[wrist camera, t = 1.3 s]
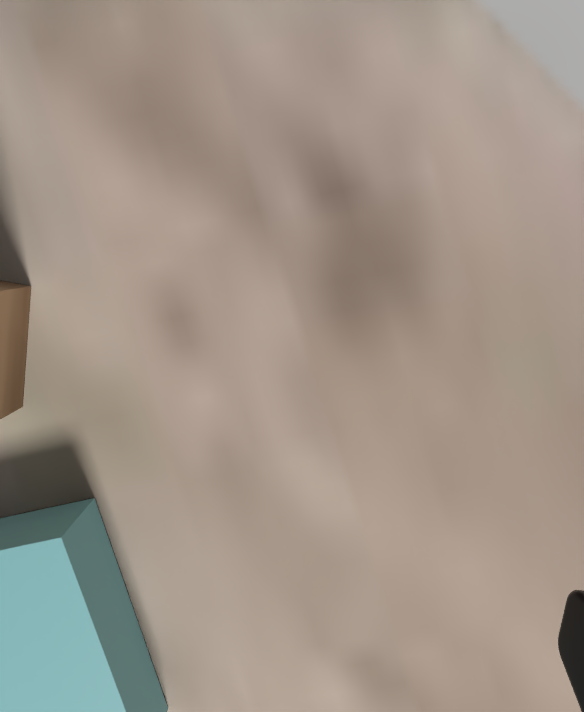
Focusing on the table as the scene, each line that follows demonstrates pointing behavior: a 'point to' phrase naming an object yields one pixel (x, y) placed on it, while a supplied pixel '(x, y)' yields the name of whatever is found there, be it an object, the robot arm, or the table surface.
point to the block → (13, 344)
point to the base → (69, 619)
